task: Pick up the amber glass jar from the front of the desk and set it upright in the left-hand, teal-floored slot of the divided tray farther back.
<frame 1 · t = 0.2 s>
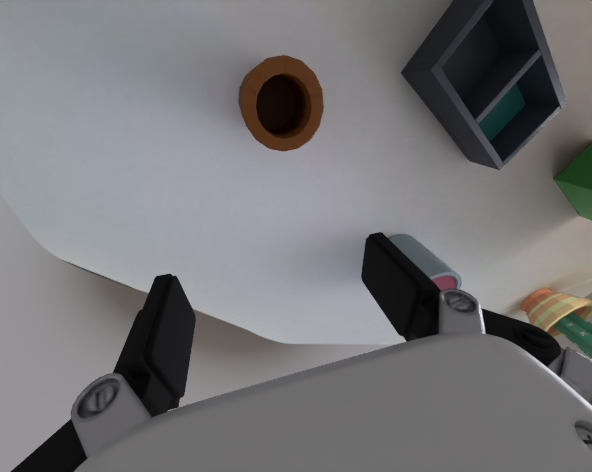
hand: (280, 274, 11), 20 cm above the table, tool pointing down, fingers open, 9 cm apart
hardback book: (584, 182, 44), on the table
divided tray: (469, 88, 29), on the table
potted cactus: (534, 298, 66), on the table
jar: (268, 102, 25), on the table
mug: (397, 261, 44), on the table
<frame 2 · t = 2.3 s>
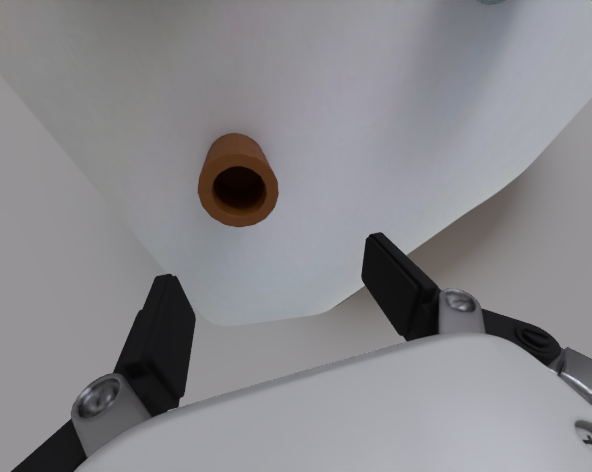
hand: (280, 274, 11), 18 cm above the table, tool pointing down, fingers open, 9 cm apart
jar: (237, 163, 26), on the table
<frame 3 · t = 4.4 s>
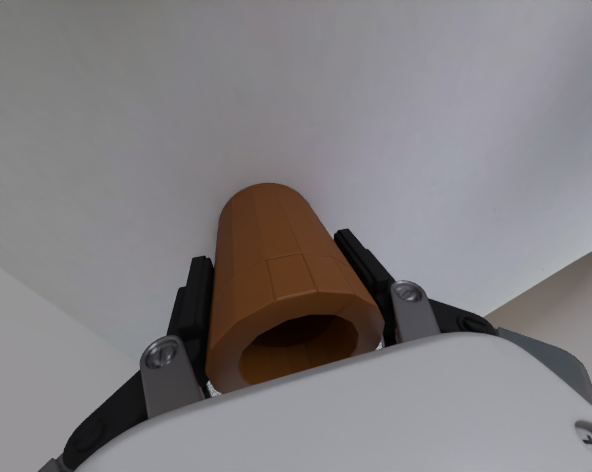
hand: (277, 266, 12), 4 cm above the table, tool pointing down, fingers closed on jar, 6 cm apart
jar: (267, 227, 15), on the table, touching gripper
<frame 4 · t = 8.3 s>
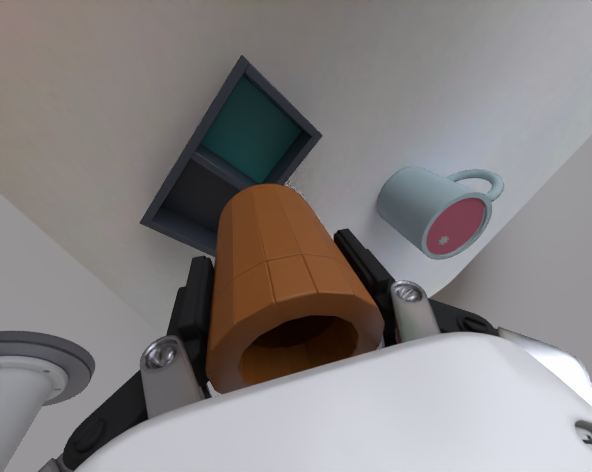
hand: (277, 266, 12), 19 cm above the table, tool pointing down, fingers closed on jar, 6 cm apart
divided tray: (230, 166, 27), on the table
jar: (267, 228, 15), point 15 cm above the table, touching gripper
mug: (416, 187, 36), on the table
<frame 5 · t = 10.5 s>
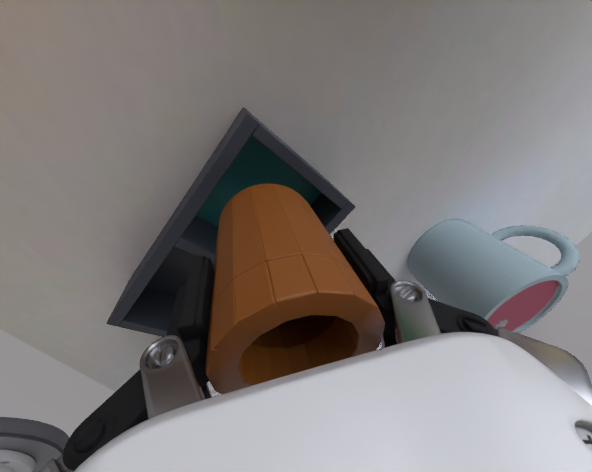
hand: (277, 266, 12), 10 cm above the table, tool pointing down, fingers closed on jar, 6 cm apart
divided tray: (230, 232, 21), on the table
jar: (267, 228, 15), point 6 cm above the table, touching gripper
mug: (454, 240, 29), on the table
when the fingers open (5 cm above the table, at t = 12.1 s): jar stays where it is, resting on divided tray.
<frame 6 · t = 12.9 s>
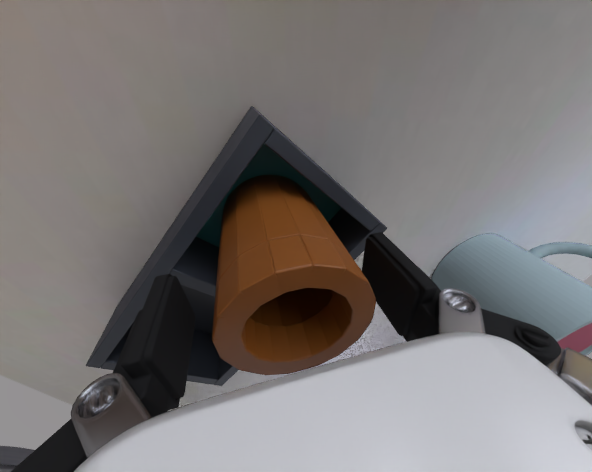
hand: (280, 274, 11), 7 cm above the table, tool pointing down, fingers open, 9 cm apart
divided tray: (233, 252, 18), on the table
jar: (269, 218, 16), point 1 cm above the table, touching divided tray
mug: (484, 255, 26), on the table
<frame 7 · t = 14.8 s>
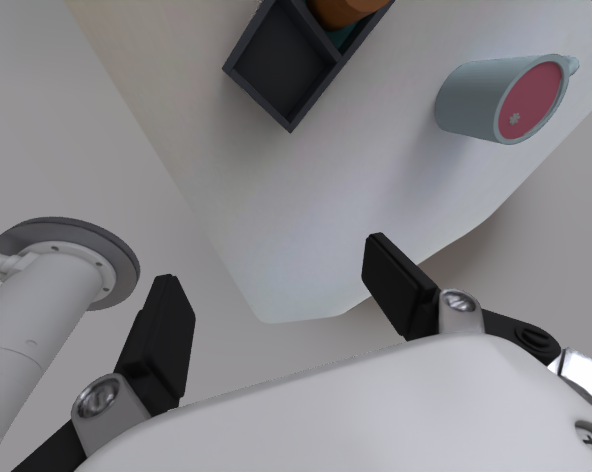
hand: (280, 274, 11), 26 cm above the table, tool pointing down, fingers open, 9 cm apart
divided tray: (303, 33, 27), on the table
mug: (475, 90, 35), on the table
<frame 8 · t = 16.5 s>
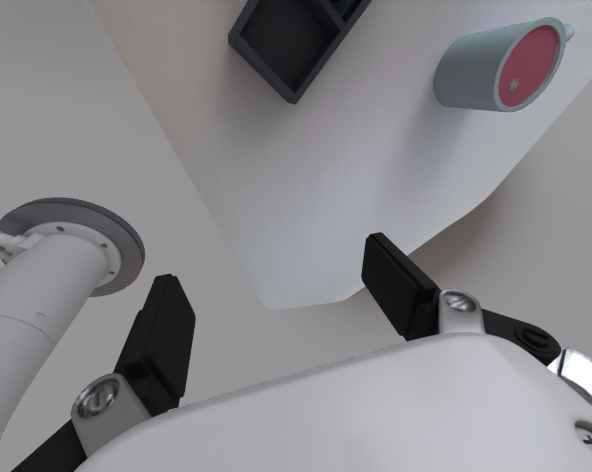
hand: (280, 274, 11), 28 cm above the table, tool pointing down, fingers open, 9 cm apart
divided tray: (306, 5, 28), on the table
mug: (473, 64, 36), on the table
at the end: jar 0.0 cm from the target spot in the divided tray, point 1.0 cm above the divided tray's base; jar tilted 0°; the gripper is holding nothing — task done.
